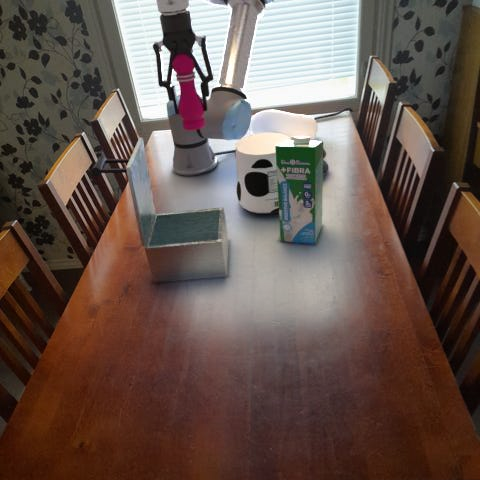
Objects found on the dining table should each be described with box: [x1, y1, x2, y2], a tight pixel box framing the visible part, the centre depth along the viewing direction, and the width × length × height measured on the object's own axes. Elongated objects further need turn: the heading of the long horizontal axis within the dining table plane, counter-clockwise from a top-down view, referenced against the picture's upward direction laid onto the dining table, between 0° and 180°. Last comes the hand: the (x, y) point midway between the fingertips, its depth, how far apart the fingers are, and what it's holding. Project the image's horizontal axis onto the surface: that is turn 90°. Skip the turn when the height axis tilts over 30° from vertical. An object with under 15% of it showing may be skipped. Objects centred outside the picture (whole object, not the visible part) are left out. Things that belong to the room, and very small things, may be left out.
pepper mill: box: [172, 54, 205, 130], centre depth 121 cm, size 7×7×20 cm
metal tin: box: [144, 207, 229, 283], centre depth 112 cm, size 18×16×10 cm
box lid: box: [91, 137, 156, 248], centre depth 103 cm, size 19×16×10 cm
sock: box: [248, 109, 319, 141], centre depth 164 cm, size 25×10×14 cm
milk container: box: [235, 132, 291, 215], centre depth 127 cm, size 17×17×18 cm
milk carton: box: [275, 136, 324, 245], centre depth 111 cm, size 9×9×25 cm
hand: (191, 110), depth 125 cm, fingers closed on pepper mill, 7 cm apart
